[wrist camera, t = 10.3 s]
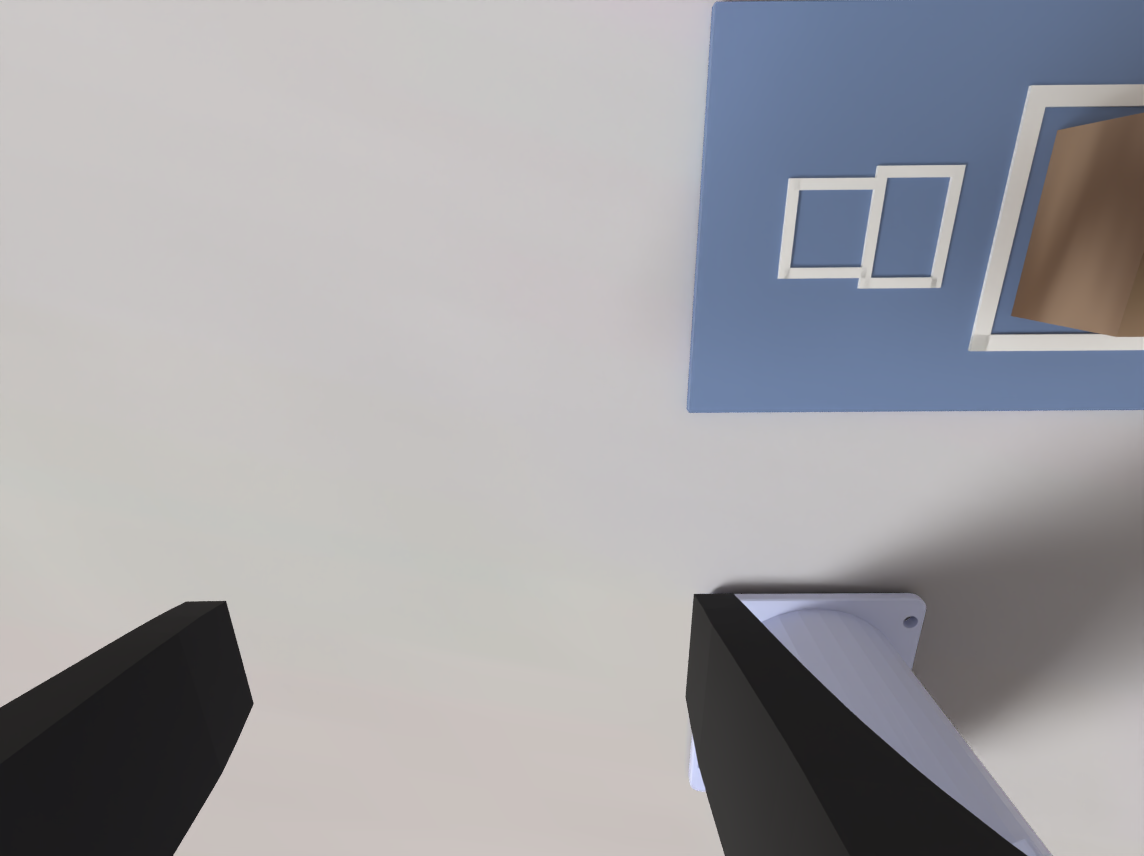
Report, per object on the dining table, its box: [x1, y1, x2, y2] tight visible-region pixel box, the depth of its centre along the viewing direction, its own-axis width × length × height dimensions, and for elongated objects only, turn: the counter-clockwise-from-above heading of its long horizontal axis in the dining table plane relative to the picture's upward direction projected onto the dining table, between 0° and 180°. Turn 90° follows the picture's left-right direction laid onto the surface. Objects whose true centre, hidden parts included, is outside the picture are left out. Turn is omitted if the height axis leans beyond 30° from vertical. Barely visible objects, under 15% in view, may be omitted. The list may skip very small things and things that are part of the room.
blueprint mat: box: [687, 0, 1144, 413], centre depth 16 cm, size 11×16×1 cm
